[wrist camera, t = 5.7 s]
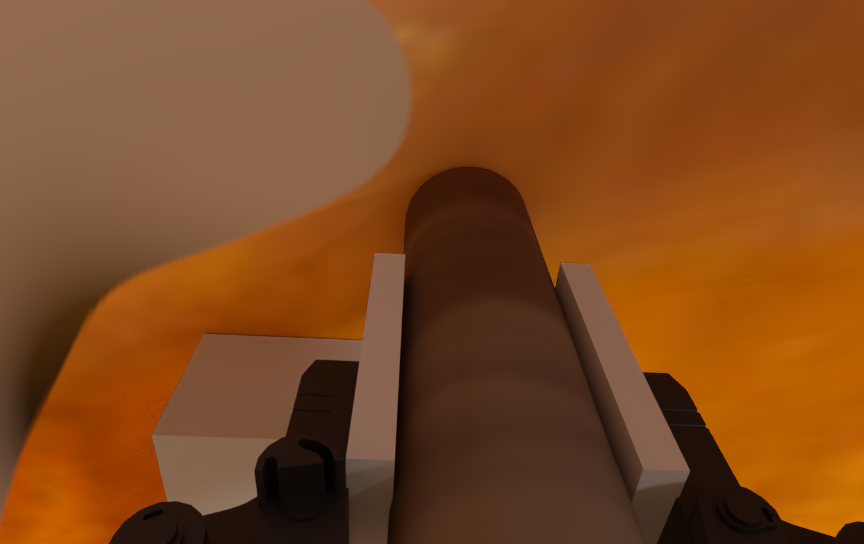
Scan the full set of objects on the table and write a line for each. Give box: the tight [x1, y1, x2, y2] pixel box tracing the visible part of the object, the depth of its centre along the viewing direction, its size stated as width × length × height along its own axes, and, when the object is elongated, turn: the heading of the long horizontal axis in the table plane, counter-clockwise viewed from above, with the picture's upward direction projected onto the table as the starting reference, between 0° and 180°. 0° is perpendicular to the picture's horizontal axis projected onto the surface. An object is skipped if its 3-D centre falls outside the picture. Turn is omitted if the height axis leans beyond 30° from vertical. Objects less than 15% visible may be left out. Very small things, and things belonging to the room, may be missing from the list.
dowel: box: [387, 167, 646, 544], centre depth 13 cm, size 4×4×15 cm
